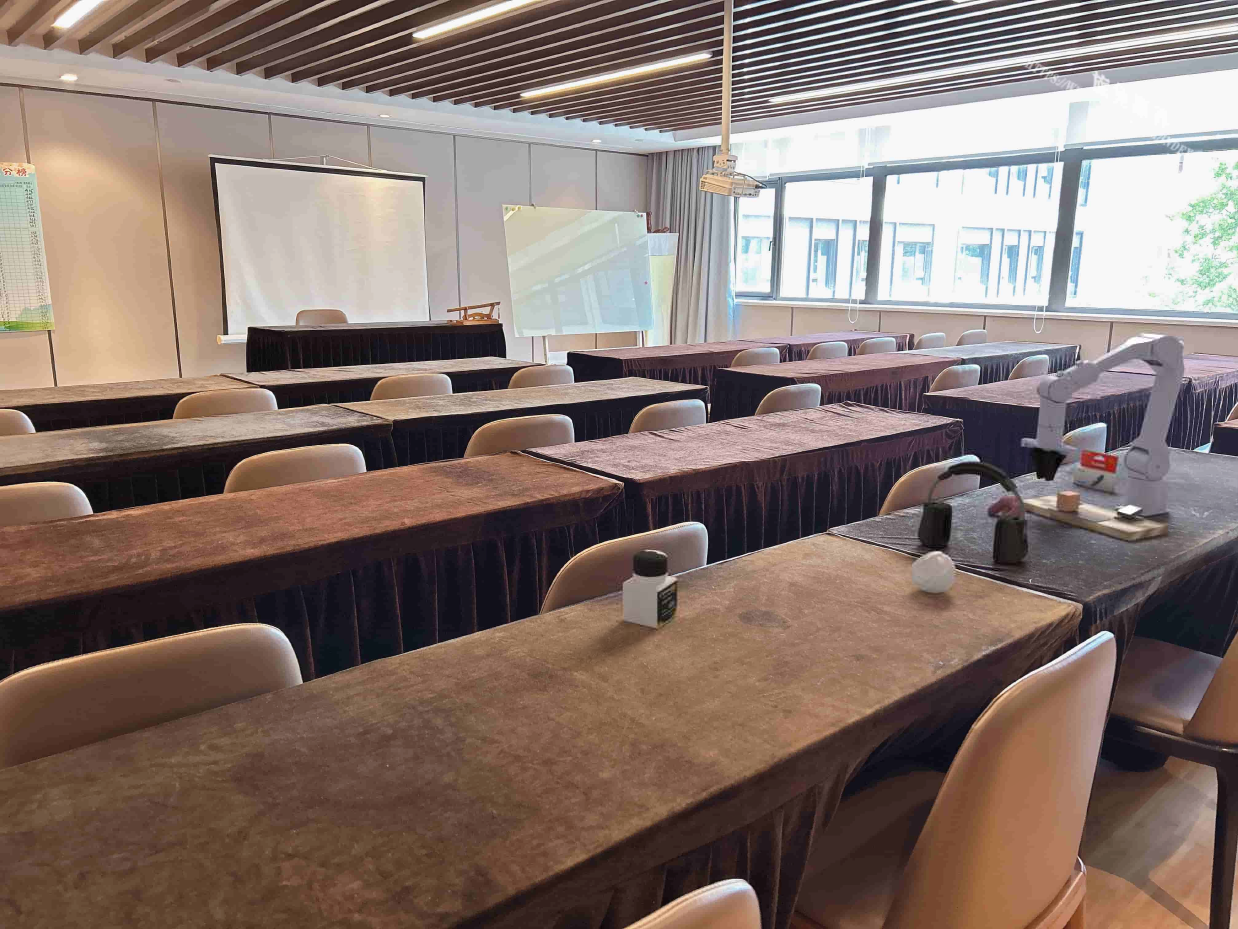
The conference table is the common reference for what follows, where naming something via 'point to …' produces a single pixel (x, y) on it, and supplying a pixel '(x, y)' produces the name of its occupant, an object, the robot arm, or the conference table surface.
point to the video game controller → (1006, 506)
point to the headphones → (1007, 529)
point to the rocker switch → (1129, 511)
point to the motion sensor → (933, 572)
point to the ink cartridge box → (1096, 471)
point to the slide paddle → (1068, 501)
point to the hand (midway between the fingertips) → (1045, 479)
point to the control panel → (1097, 519)
